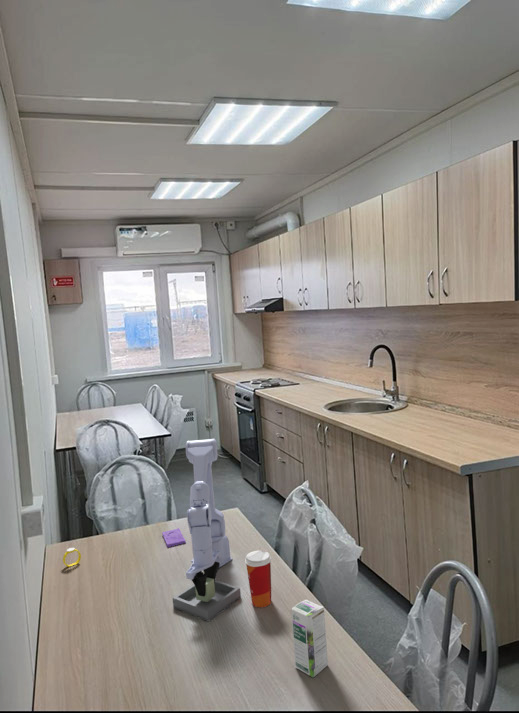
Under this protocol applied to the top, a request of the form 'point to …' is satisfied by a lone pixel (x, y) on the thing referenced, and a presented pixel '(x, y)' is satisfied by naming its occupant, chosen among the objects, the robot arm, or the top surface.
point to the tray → (213, 607)
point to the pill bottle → (259, 577)
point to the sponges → (173, 537)
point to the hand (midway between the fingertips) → (206, 591)
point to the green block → (207, 591)
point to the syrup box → (309, 637)
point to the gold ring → (71, 552)
